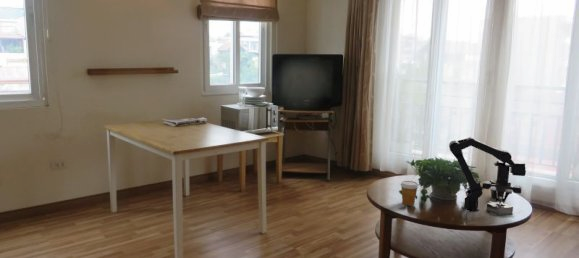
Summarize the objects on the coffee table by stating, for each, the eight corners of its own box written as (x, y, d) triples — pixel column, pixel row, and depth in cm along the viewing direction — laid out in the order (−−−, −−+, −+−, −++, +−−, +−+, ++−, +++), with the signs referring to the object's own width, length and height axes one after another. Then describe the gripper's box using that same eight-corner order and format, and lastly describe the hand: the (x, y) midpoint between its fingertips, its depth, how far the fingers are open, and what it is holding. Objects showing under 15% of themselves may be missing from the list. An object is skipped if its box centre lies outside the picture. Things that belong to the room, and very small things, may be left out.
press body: (498, 215, 247) (499, 208, 246) (482, 208, 258) (483, 201, 257) (512, 214, 250) (513, 207, 249) (496, 207, 261) (496, 200, 260)
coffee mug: (506, 200, 272) (508, 184, 271) (490, 199, 274) (492, 182, 272) (502, 195, 283) (503, 178, 282) (486, 193, 285) (488, 177, 283)
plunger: (499, 211, 250) (500, 198, 249) (495, 209, 253) (496, 197, 252) (503, 211, 251) (505, 198, 250) (499, 209, 254) (500, 196, 253)
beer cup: (418, 202, 265) (419, 182, 263) (415, 207, 257) (416, 186, 255) (401, 200, 269) (402, 179, 267) (397, 204, 261) (399, 183, 259)
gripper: (482, 175, 246) (479, 204, 248) (522, 180, 238) (519, 210, 240) (484, 170, 256) (481, 198, 258) (522, 175, 248) (519, 204, 250)
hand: (500, 202), depth 252 cm, fingers closed on plunger, 3 cm apart
